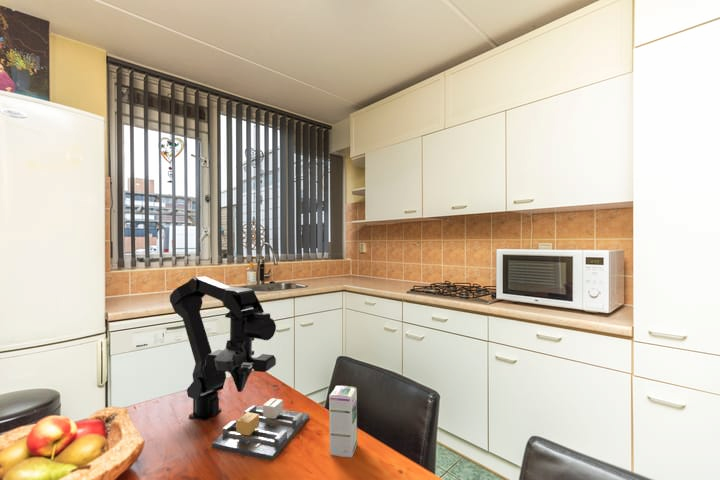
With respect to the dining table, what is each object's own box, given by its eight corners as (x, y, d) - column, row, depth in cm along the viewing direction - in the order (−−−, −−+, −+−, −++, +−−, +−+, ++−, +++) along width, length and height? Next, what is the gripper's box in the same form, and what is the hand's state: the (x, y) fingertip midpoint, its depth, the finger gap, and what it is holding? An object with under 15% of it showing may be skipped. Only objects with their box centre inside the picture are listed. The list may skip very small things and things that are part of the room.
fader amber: (236, 438, 83) (236, 420, 83) (247, 429, 88) (247, 411, 88) (248, 440, 82) (248, 422, 82) (258, 431, 87) (258, 413, 87)
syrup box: (352, 458, 78) (352, 396, 78) (328, 455, 79) (328, 394, 79) (357, 444, 83) (357, 386, 84) (335, 441, 85) (335, 384, 85)
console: (211, 447, 82) (211, 435, 82) (258, 409, 101) (258, 399, 101) (271, 460, 77) (272, 447, 77) (309, 418, 96) (309, 407, 96)
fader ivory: (263, 421, 91) (263, 404, 92) (271, 413, 96) (271, 397, 96) (274, 423, 90) (274, 406, 91) (282, 415, 95) (282, 399, 95)
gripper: (191, 340, 86) (190, 400, 85) (255, 346, 81) (254, 409, 81) (219, 329, 96) (218, 383, 96) (277, 334, 92) (276, 390, 92)
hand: (240, 391), depth 91 cm, fingers closed
